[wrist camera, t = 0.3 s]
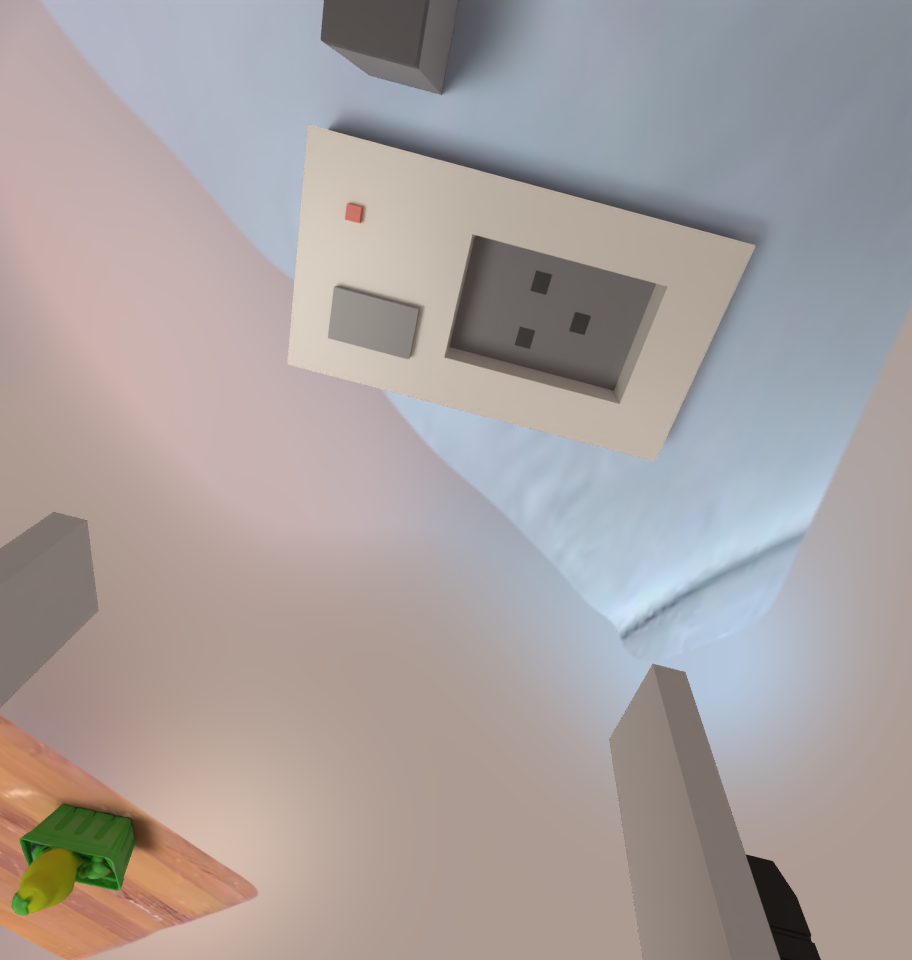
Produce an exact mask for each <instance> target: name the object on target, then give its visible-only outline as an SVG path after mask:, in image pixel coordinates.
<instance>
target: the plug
mask: <svg viewBox="0 0 912 960" xmlns="http://www.w3.org/2000/svg"><path fill="white" fill-rule="evenodd" d="M458 2H459V0H324V8H323V19H322V30H321V41H323V42H324V43H326V44H327V45H328V46H330V47H331V48H332V49H334V50H335V51H337V52H338V53H339V54H341V55H342V56H343V57H345V58H346V59H348V60H349V61H350V62H352V63H353V64H354V65H356V66H357V67H359V68H360V69H361V70H363V71H364V72H365V73H367V74H368V75H370V76H373V77H377V78H381V79H385V80H388V81H392V82H396V83H399V84H403V85H407V86H410V87H414V88H418V89H421V90H425V91H429V92H432V93H436V94H440V95H442V89H443V84H444V78H445V73H446V67H447V62H448V56H449V51H450V45H451V40H452V34H453V29H454V23H455V18H456V12H457V7H458Z"/></svg>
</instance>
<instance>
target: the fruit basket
mask: <svg viewBox="0 0 912 960" xmlns="http://www.w3.org/2000/svg"><path fill="white" fill-rule="evenodd" d="M19 842H20V844H21V846H22V850H23V853H24V855H25V858H26V860H27V863H28V866H29V867H28V868H27V870H26V871H25V873H24V875H23V877H22V879H21V883H20V888H19V890H18V892H17V893H16V894H15V895H14V897H13V899H12V909H13V910H14V911H15V913H16V914H18V915H27V914H29V913H33V912H37V911H40V910H42V909H45V908H49V907H51V906H54V905H56V904H58V903H60V902H61V901H63V900H64V899H65V898H66V897H67V896H68V895H69V894H70V893H71V892H72V890H73V887H74V882H78V883H83V884H88V885H93V886H97V887H102V888H107V889H111V890H115V891H118V890H120V889H121V887H122V884H123V880H124V874H125V871H126V868H127V866H128V863H129V860H130V857H131V854H132V851H133V848H134V845H135V842H136V839H135V838H134V832H133V827H132V825H131V820H130V819H128V818H124V817H115V816H113V815H110V814H105V813H101V812H97V813H96V812H94V811H92V810H87V809H82V808H78V809H77V808H76V807H73V806H69V805H64V804H63V805H61V806H60V807H59V808H58V809H56V810H55V811H54V812H53V813H52V814H51V815H49V816H48V817H47V818H46V819H45V820H44V821H42V822H41V823H40V824H39V825H38V826H37V827H35V828H34V829H33V830H32V831H31V832H28V833H27V834H26V835H24V836H23V837H22V838H20V839H19Z"/></svg>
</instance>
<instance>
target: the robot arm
mask: <svg viewBox="0 0 912 960" xmlns="http://www.w3.org/2000/svg"><path fill="white" fill-rule="evenodd" d="M96 612H98V603H97V595H96V587H95V579H94V572H93V564H92V556H91V548H90V540H89V532H88V524H87V520H83V519H80V518H76V517H72V516H68V515H64V514H60V513H56V512H53V513H51V514H50V515H48V516H47V517H46V518H44V519H43V520H41V521H40V522H38V523H37V524H35V525H34V526H33V527H31V528H30V529H28V530H27V531H25V532H24V533H22V534H21V535H19V536H18V537H16V538H15V539H13V540H12V541H11V542H9V543H8V544H6V545H5V546H3V547H2V548H0V708H1V706H3V704H5V703H6V702H7V701H8V700H9V699H10V698H11V697H12V696H13V695H14V694H15V693H16V692H17V691H18V689H20V687H22V686H23V685H24V684H25V683H26V682H27V681H28V680H29V679H30V678H31V677H32V676H33V675H34V674H35V673H36V672H37V671H38V670H39V669H40V668H41V667H42V666H43V665H44V664H45V663H46V662H47V661H48V660H49V659H50V658H51V657H52V656H53V655H54V654H55V653H56V652H57V651H58V650H59V649H60V648H61V647H62V646H63V645H64V644H65V643H66V642H67V641H68V640H69V639H70V638H71V637H72V636H73V635H74V634H75V633H76V632H77V631H78V630H79V629H80V628H81V627H82V626H83V625H84V624H85V623H86V622H87V621H88V620H89V619H90V618H91V617H92V616H93V615H94V614H95V613H96ZM609 741H610V748H611V754H612V761H613V767H614V774H615V781H616V787H617V794H618V799H619V807H620V814H621V820H622V827H623V833H624V840H625V846H626V852H627V860H628V866H629V873H630V879H631V886H632V893H633V899H634V905H635V912H636V918H637V926H638V932H639V939H640V945H641V951H642V958H643V960H821V959H820V957H819V954H818V951H817V949H816V946H815V943H812V941H811V933H810V930H809V928H808V925H807V923H806V920H805V917H804V915H803V912H802V909H801V907H800V904H799V902H798V899H797V897H796V895H795V894H794V892H793V891H792V889H791V888H790V886H789V885H788V883H787V882H786V880H785V879H784V877H783V876H782V874H781V872H780V871H779V869H778V868H777V867H776V865H775V863H774V862H773V861H770V860H766V859H762V858H758V857H754V856H750V855H746V854H745V851H744V848H743V845H742V842H741V839H740V836H739V833H738V830H737V827H736V824H735V821H734V818H733V815H732V812H731V809H730V806H729V803H728V800H727V797H726V794H725V791H724V788H723V785H722V782H721V779H720V776H719V773H718V770H717V766H716V763H715V760H714V758H713V754H712V751H711V748H710V745H709V743H708V739H707V736H706V733H705V730H704V727H703V724H702V721H701V718H700V715H699V712H698V709H697V706H696V703H695V700H694V697H693V694H692V691H691V688H690V685H689V682H688V679H687V676H686V673H685V672H683V671H679V670H675V669H671V668H667V667H663V666H659V665H655V664H652V666H651V668H650V669H649V671H648V673H647V675H646V676H645V678H644V680H643V682H642V683H641V685H640V687H639V689H638V690H637V692H636V694H635V696H634V697H633V699H632V701H631V702H630V704H629V706H628V708H627V709H626V711H625V713H624V715H623V717H622V718H621V720H620V722H619V723H618V725H617V727H616V729H615V730H614V732H613V734H612V735H611V737H610V739H609Z"/></svg>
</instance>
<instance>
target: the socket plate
mask: <svg viewBox="0 0 912 960" xmlns="http://www.w3.org/2000/svg"><path fill="white" fill-rule="evenodd" d="M755 247H756V245H753V244H749V243H746V242H742V241H738V240H735V239H731V238H727V237H723V236H720V235H716V234H712V233H709V232H705V231H701V230H698V229H694V228H690V227H686V226H683V225H679V224H675V223H672V222H668V221H664V220H660V219H657V218H653V217H649V216H646V215H642V214H638V213H635V212H631V211H627V210H623V209H620V208H616V207H612V206H609V205H605V204H601V203H597V202H594V201H590V200H586V199H583V198H579V197H575V196H572V195H568V194H564V193H560V192H557V191H553V190H549V189H546V188H542V187H538V186H534V185H531V184H527V183H523V182H520V181H516V180H512V179H509V178H505V177H501V176H497V175H494V174H490V173H486V172H483V171H479V170H475V169H471V168H468V167H464V166H460V165H457V164H453V163H449V162H446V161H442V160H438V159H434V158H431V157H427V156H423V155H420V154H416V153H412V152H409V151H405V150H401V149H397V148H394V147H390V146H386V145H383V144H379V143H375V142H371V141H368V140H364V139H360V138H357V137H353V136H349V135H346V134H342V133H338V132H334V131H331V130H327V129H323V128H320V127H316V126H312V125H308V131H307V142H306V154H305V166H304V177H303V189H302V201H301V212H300V224H299V236H298V247H297V259H296V271H295V282H294V295H293V307H292V317H291V329H290V330H291V331H290V342H289V352H288V365H292V366H296V367H300V368H303V369H307V370H311V371H315V372H319V373H322V374H326V375H330V376H334V377H338V378H341V379H345V380H349V381H353V382H356V383H360V384H364V385H368V386H372V387H375V388H379V389H383V390H387V391H391V392H394V393H398V394H402V395H406V396H410V397H413V398H417V399H421V400H425V401H428V402H432V403H436V404H440V405H444V406H447V407H451V408H455V409H459V410H463V411H466V412H470V413H474V414H478V415H481V416H485V417H489V418H493V419H497V420H500V421H504V422H508V423H512V424H516V425H519V426H523V427H527V428H531V429H535V430H538V431H542V432H546V433H550V434H553V435H557V436H561V437H565V438H569V439H572V440H576V441H580V442H584V443H588V444H591V445H595V446H599V447H603V448H606V449H610V450H614V451H618V452H622V453H625V454H629V455H633V456H637V457H641V458H644V459H648V460H652V461H656V459H657V457H658V455H659V453H660V450H661V448H662V446H663V444H664V442H665V440H666V438H667V435H668V433H669V431H670V429H671V427H672V425H673V423H674V420H675V418H676V416H677V414H678V412H679V410H680V408H681V405H682V403H683V401H684V399H685V397H686V395H687V393H688V390H689V388H690V386H691V384H692V382H693V380H694V378H695V375H696V373H697V371H698V369H699V367H700V365H701V362H702V360H703V358H704V356H705V354H706V352H707V350H708V347H709V345H710V343H711V341H712V339H713V337H714V335H715V332H716V330H717V328H718V326H719V324H720V322H721V320H722V317H723V315H724V313H725V311H726V309H727V307H728V305H729V302H730V300H731V298H732V296H733V294H734V292H735V290H736V287H737V285H738V283H739V281H740V279H741V277H742V275H743V272H744V270H745V268H746V266H747V264H748V262H749V260H750V257H751V255H752V253H753V251H754V249H755Z"/></svg>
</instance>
